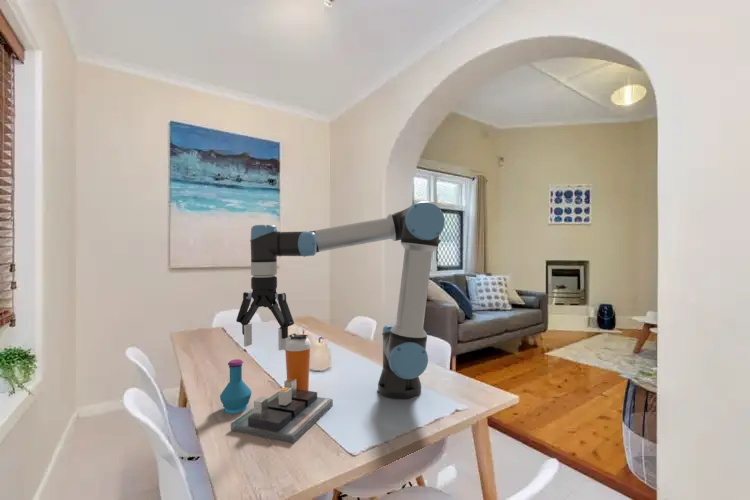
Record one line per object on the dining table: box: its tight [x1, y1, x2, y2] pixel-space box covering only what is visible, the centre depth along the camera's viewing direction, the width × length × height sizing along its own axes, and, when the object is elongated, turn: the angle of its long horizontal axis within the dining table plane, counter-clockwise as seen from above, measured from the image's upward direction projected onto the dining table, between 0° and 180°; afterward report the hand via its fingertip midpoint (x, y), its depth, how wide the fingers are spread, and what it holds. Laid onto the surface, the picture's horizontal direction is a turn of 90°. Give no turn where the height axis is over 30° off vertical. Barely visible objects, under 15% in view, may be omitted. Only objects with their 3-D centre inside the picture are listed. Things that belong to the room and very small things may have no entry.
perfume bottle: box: [219, 358, 252, 414], centre depth 113 cm, size 9×9×15 cm
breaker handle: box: [278, 386, 292, 406], centre depth 107 cm, size 2×3×4 cm
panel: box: [230, 378, 334, 444], centre depth 107 cm, size 20×23×8 cm
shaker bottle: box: [284, 332, 312, 391], centre depth 125 cm, size 9×9×20 cm
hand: (264, 347), depth 109 cm, fingers open, 12 cm apart
